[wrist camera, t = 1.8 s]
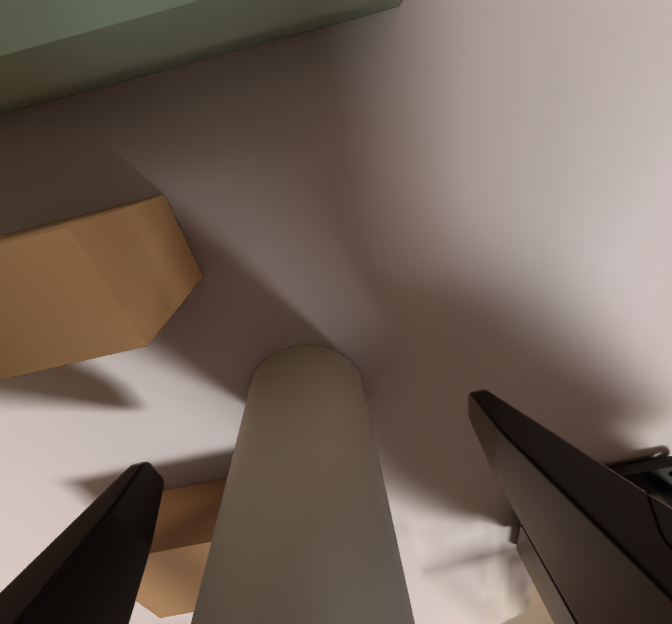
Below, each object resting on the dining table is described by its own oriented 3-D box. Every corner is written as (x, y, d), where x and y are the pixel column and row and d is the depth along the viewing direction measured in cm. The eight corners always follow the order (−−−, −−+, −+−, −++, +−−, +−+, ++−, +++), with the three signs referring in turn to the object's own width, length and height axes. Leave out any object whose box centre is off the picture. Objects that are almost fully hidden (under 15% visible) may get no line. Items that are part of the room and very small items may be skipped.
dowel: (350, 333, 9) (409, 609, 4) (370, 416, 11) (428, 681, 5) (233, 359, 9) (125, 660, 4) (271, 437, 11) (235, 714, 6)
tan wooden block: (295, 456, 12) (291, 526, 10) (323, 520, 14) (325, 587, 12) (126, 489, 12) (86, 565, 10) (182, 547, 15) (160, 618, 12)
